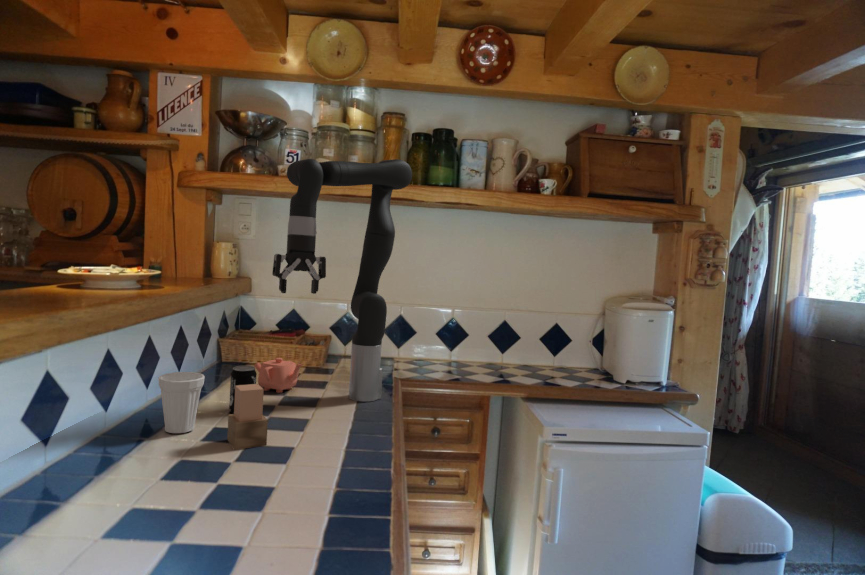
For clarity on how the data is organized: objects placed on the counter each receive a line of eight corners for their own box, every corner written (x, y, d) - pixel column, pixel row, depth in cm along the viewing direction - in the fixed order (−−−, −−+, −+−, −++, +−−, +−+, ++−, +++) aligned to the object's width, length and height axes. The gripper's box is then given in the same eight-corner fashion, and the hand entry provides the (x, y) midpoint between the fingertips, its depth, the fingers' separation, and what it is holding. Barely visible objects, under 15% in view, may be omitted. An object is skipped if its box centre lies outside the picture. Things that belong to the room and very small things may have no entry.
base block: (257, 436, 124) (259, 411, 124) (266, 445, 118) (267, 419, 118) (227, 440, 120) (228, 414, 120) (234, 450, 115) (235, 423, 114)
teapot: (254, 395, 159) (256, 362, 158) (252, 385, 170) (254, 354, 169) (302, 393, 164) (304, 361, 163) (297, 384, 175) (299, 354, 174)
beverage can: (246, 416, 138) (248, 371, 138) (224, 412, 139) (226, 368, 139) (259, 409, 145) (261, 366, 144) (237, 406, 146) (239, 364, 145)
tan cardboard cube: (255, 413, 122) (257, 383, 122) (262, 419, 118) (263, 389, 118) (233, 415, 120) (235, 385, 119) (239, 421, 116) (240, 390, 115)
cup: (193, 421, 131) (195, 370, 131) (209, 432, 124) (211, 378, 123) (150, 428, 124) (152, 374, 124) (164, 440, 117) (166, 383, 116)
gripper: (321, 236, 149) (318, 292, 149) (271, 231, 140) (268, 291, 141) (331, 236, 142) (328, 295, 143) (280, 231, 134) (277, 294, 135)
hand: (298, 293), depth 142 cm, fingers open, 8 cm apart
